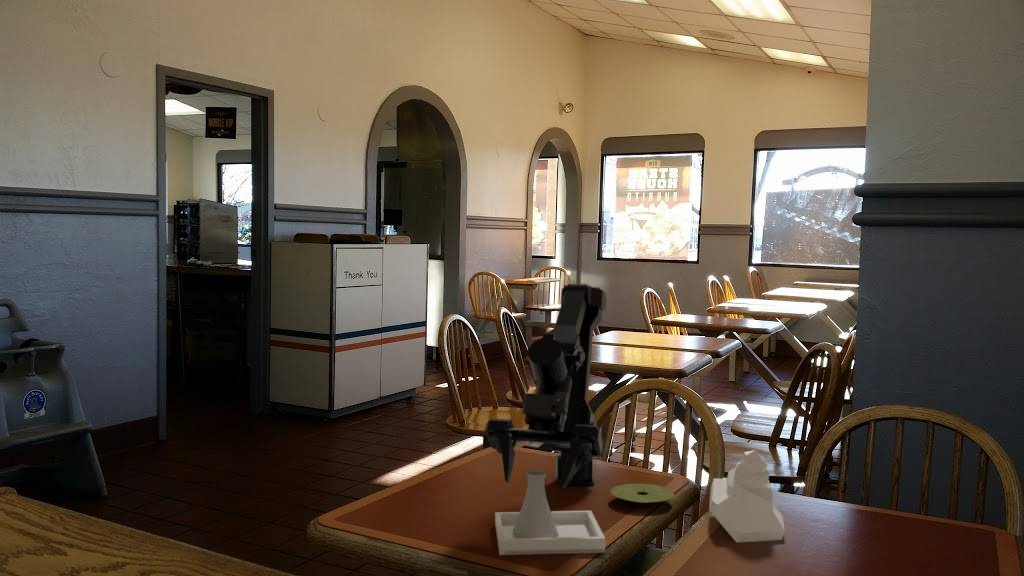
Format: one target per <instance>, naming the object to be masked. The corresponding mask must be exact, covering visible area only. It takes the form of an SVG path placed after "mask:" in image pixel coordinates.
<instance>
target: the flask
mask: <svg viewBox="0 0 1024 576" xmlns="http://www.w3.org/2000/svg"><path fill="white" fill-rule="evenodd" d="M525 474H526V477H527V487H526V492H525V497H524V499H523V502H522V505H521V507H520V510H519V512H520V513H519V516H518V518H517V521H516V523H515V526H514V529H513V531H514V535H515V536H516V537H518V538H555V537H558V536H559V535H558V532H557V529H556V526H555V523H554V520H553V517H552V514H551V509H550V505H549V501H548V499H547V494H546V487H545V479H546V477H547V472H546V470H545V471H544V470H541V469H531V470H527V471H526V472H525Z"/></svg>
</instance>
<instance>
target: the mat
mask: <svg viewBox="0 0 1024 576" xmlns="http://www.w3.org/2000/svg"><path fill="white" fill-rule="evenodd" d="M610 493H611V495H612V496H613V497H616V498H618V499H622V500H625V501H630V502H635V503H638V504H639V505H640V504H641V503H643V504H645V503H646V504H647V503H655V502H656V503H657V502H659V503H660V502H666V501H668V500H671V499H672V498H673V497H674V496H675V495H674V492H673V491H672V490H671V489H669V488H667V487H664V486H660V485H656V484H651V483H650V484H649V483H628V484H627V483H625V484H621V485H617V486H614V487H612V488H611V489H610Z"/></svg>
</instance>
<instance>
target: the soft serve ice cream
mask: <svg viewBox="0 0 1024 576" xmlns="http://www.w3.org/2000/svg"><path fill="white" fill-rule="evenodd" d="M770 475H771V474H770V472H769V470H768V464H767V462H766V461H765V460H764V458H763V457H762V456H761V455H760V454H759V452H758V451H757V450H755V449H754V450H748V451H743V454H742V459H741V460H740V461H738V462H737V463H736V465H735V467H734V468H732V469H731V470H729V471H728V473H727V478H717V477H716V478H713V480H712V483H711V485H710V493H709V494H710V495H709V509H708V510H709V511H710V513H711V514H712V515H713V517H715V519H716V520H717V521H718V523H719V524H721V526H722V527H723V528H724V529H725V531H726V532H727V534H728V535H729V536H730V537H731V538H732V539H733V541H735V543H750V542H752V543H753V542H768V541H770V542H771V541H781V540H783V537H784V534H785V524H784V517H783V515H782V514H781V512H780V511H779V510H778V509H777V507H776V506H775V505H774V504H773V494H774V493H773V492H774V491H773V489H772V486H771V483H770V480H769V478H770Z"/></svg>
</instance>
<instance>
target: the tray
mask: <svg viewBox="0 0 1024 576" xmlns="http://www.w3.org/2000/svg"><path fill="white" fill-rule="evenodd" d="M550 511H551V510H550ZM519 513H520V511H505V512H504V511H497V512H494V527H495V535H496V541H497V548H498V555H499V556H510V555H511V556H515V555H516V556H517V555H519V556H521V555H552V554H553V555H558V554H559V555H560V554H563V555H564V554H566V555H567V554H600V553H601V554H602V553H605V554H606V537H605V535H604V532H603V531H602V529H601V527H600V526H599V523H598V521H597V519H596V517H595V515H594V513H593V511H592V510H552V511H551V514H552V517H553V520H554V523H555V526H556V529H557V532H558V535H559V536H558V537H555V538H518V537H516V536H515V535H514V531H513V529H514V526H515V523H516V521H517V518H518V516H519Z"/></svg>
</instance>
